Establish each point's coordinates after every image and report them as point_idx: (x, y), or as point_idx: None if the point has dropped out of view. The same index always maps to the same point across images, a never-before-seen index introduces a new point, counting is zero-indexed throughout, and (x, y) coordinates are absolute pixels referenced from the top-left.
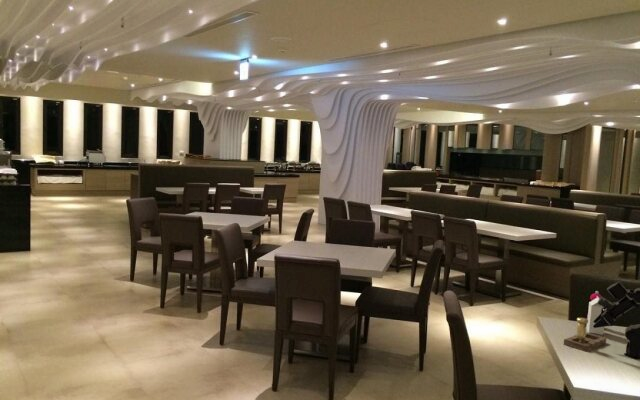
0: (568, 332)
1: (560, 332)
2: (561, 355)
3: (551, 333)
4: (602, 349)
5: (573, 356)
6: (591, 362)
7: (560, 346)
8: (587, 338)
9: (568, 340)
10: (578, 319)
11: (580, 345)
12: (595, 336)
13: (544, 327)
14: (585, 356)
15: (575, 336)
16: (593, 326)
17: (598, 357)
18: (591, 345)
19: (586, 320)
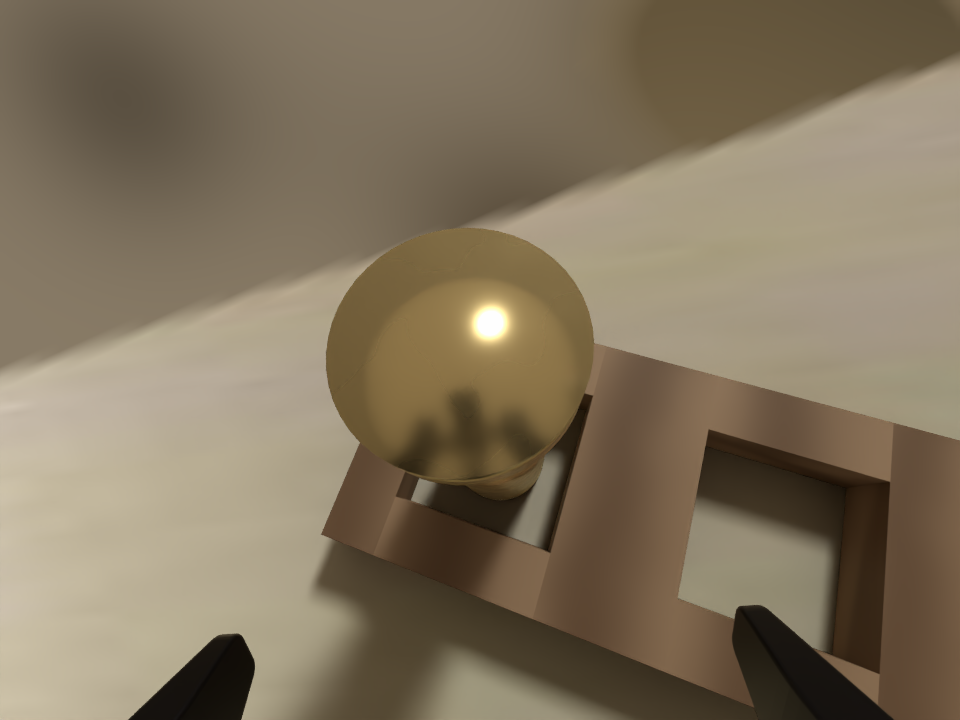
0: (902, 290)
1: (815, 232)
2: (112, 357)
3: (696, 182)
4: (553, 714)
5: (130, 445)
6: (27, 620)
7: None
8: (672, 510)
9: None
10: (368, 272)
11: (354, 466)
12: (883, 605)
13: (838, 103)
14: (182, 546)
15: (633, 374)
16: (214, 649)
17: None
18: (450, 583)
19: (389, 441)
